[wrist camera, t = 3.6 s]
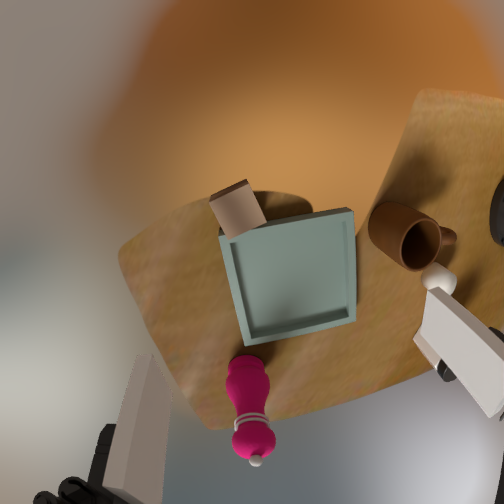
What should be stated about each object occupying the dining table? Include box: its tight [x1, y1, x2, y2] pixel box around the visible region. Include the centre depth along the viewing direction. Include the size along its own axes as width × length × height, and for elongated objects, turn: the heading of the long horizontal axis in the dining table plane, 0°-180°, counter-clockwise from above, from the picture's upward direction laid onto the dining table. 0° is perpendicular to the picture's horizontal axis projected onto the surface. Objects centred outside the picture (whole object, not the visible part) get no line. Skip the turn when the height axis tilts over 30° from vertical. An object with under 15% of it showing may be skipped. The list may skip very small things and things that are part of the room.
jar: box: [413, 324, 457, 382], centre depth 44 cm, size 9×8×12 cm
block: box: [209, 179, 267, 240], centre depth 35 cm, size 5×5×5 cm
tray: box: [218, 207, 356, 346], centre depth 40 cm, size 18×18×2 cm
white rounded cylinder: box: [421, 262, 457, 295], centre depth 42 cm, size 5×5×5 cm
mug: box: [368, 202, 457, 272], centre depth 36 cm, size 12×8×9 cm, turn 95°
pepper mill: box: [226, 355, 276, 466], centre depth 38 cm, size 7×7×20 cm
